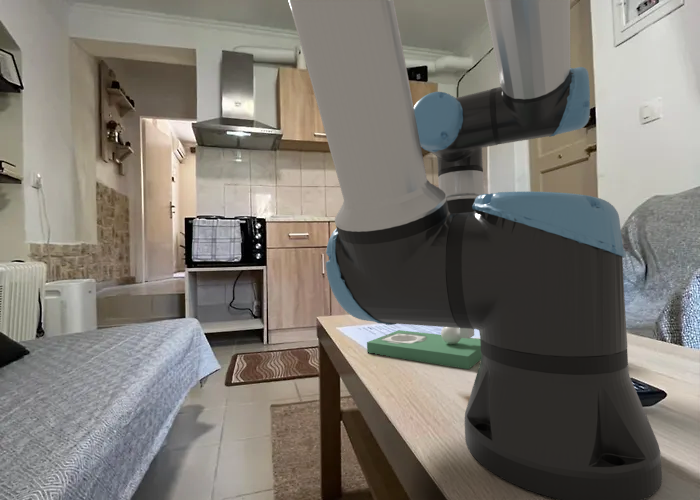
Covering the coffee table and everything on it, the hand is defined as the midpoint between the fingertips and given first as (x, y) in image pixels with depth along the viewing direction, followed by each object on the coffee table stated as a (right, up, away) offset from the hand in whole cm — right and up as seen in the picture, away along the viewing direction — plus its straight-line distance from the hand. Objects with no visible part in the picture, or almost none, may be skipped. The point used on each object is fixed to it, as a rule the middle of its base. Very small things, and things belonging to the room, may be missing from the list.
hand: (467, 336), depth 63 cm
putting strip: (-6, -4, +4) cm, 8 cm away
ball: (-2, 0, +1) cm, 3 cm away
